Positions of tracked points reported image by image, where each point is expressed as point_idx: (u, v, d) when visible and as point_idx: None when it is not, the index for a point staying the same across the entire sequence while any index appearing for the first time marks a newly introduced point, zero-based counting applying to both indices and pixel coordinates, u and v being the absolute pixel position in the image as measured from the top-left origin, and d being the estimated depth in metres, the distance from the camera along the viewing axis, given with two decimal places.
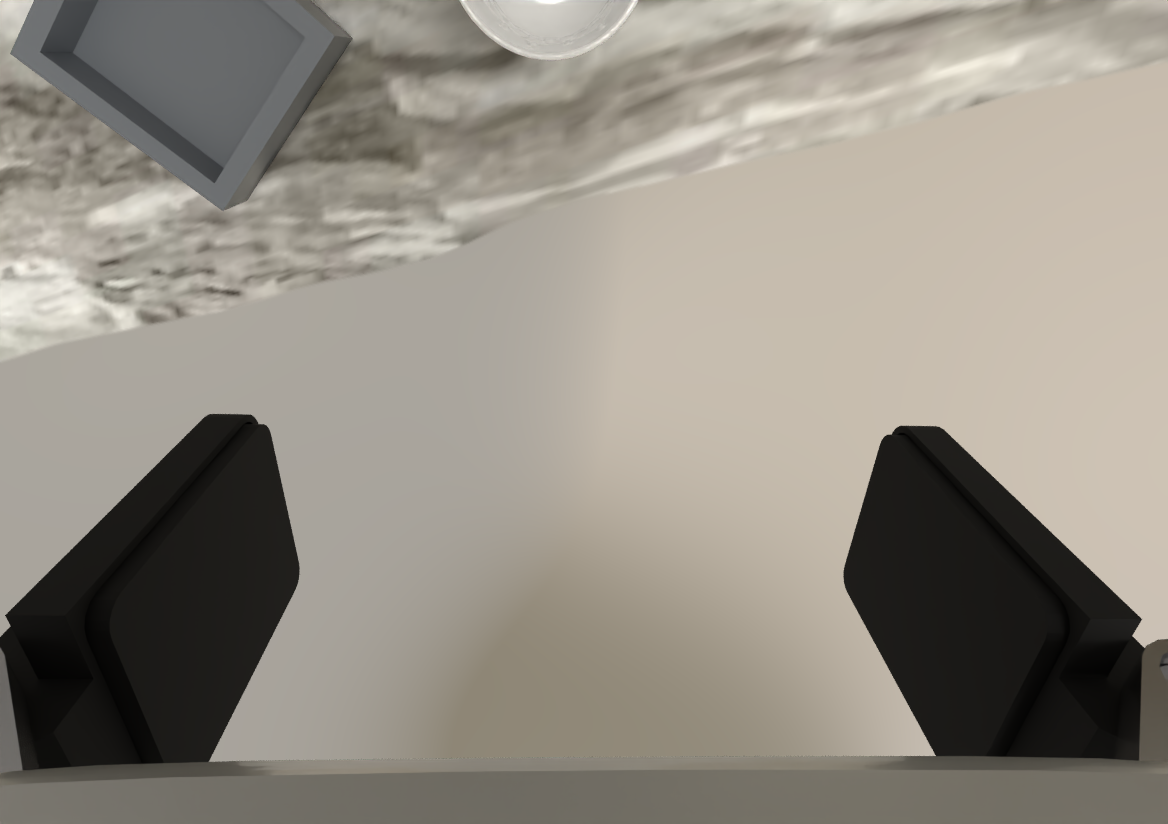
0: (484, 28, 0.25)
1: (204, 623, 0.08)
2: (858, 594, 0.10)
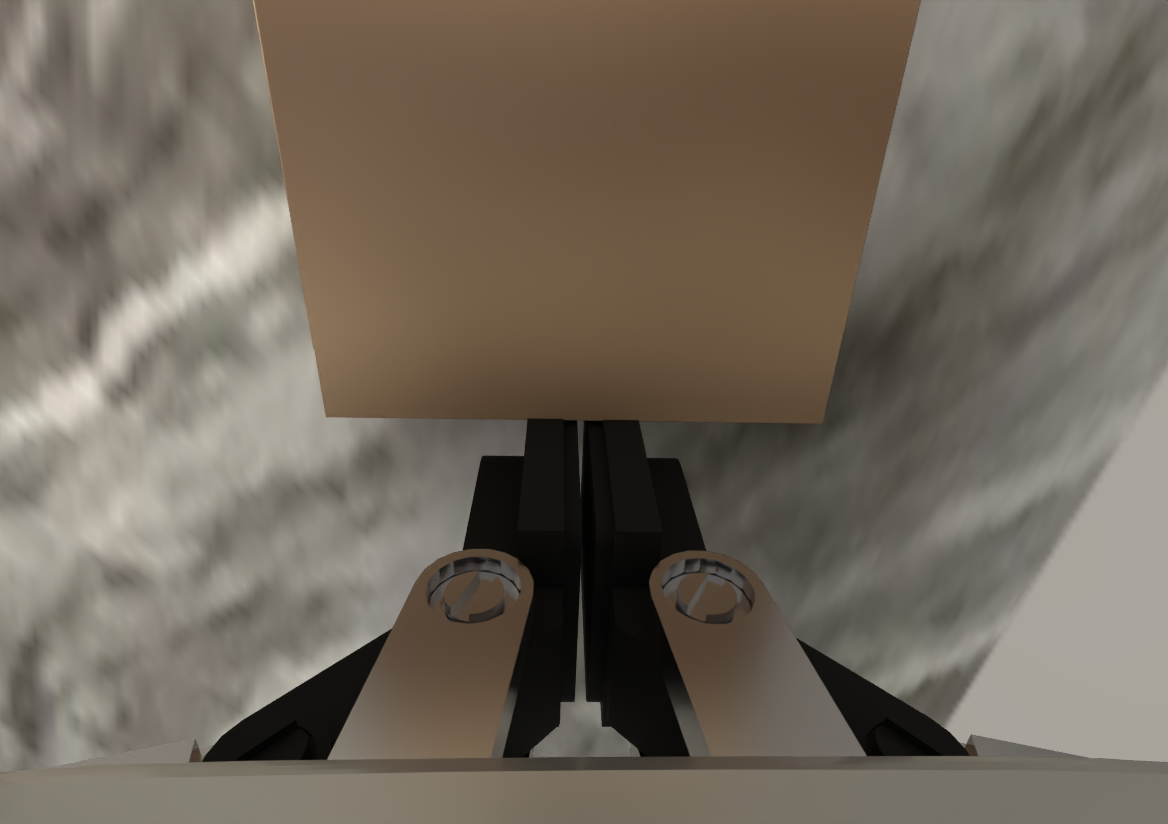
0: None
1: None
2: None
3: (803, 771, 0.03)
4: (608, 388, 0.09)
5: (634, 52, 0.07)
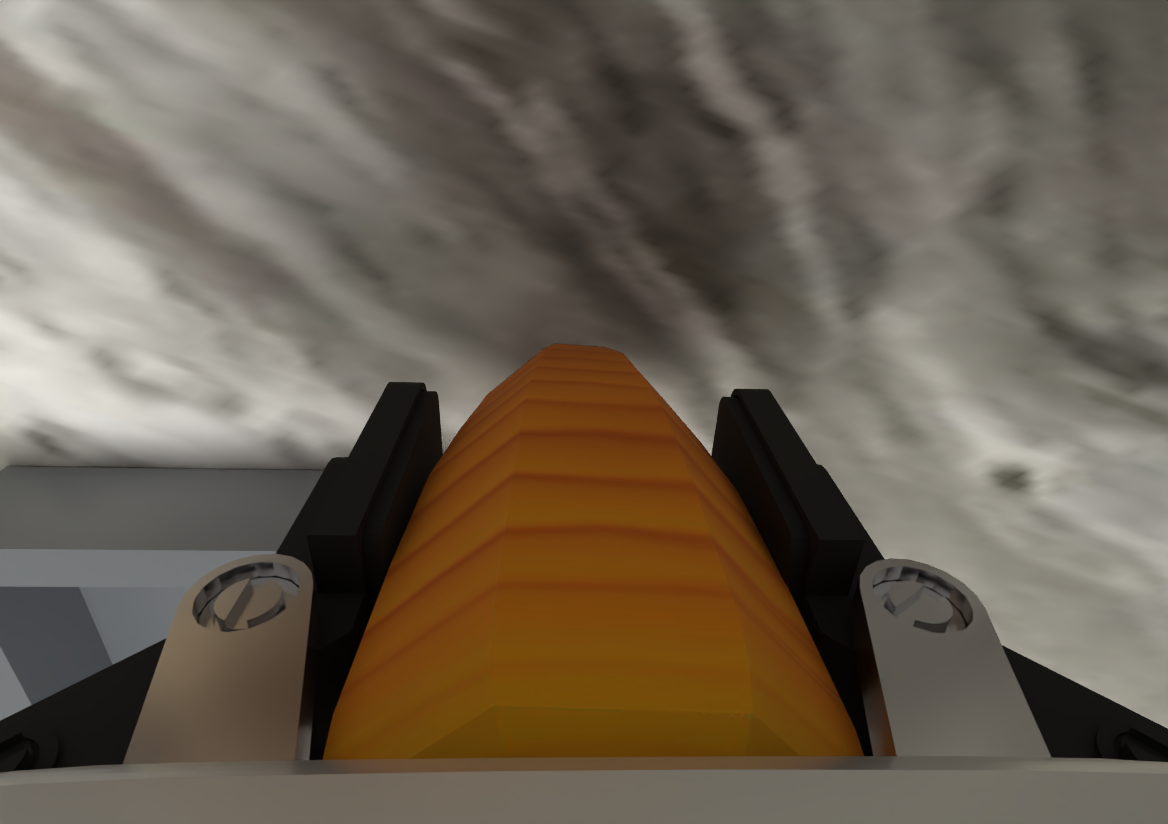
0: None
1: None
2: None
3: (803, 771, 0.03)
4: None
5: None
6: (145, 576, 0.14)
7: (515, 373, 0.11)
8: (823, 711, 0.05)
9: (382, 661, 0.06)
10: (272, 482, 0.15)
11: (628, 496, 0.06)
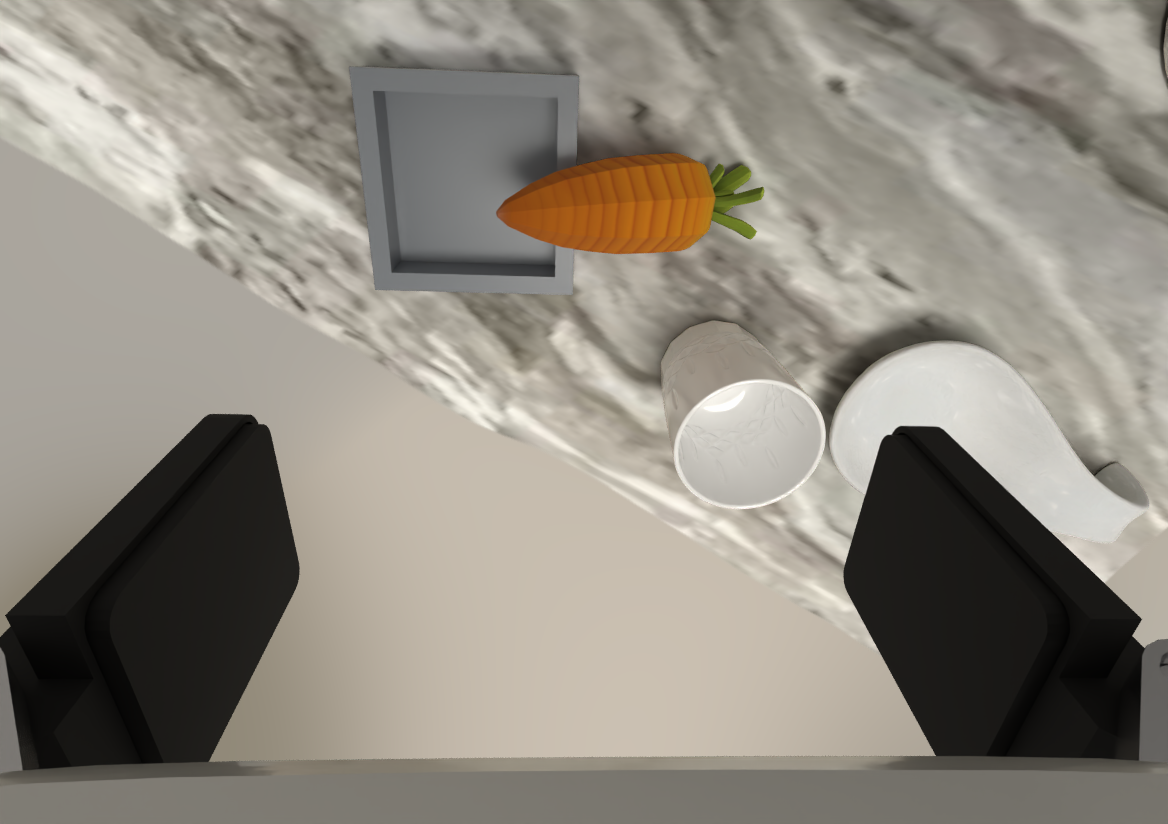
0: (676, 450, 0.34)
1: (204, 623, 0.08)
2: (858, 594, 0.10)
3: (803, 771, 0.03)
4: None
5: None
6: (448, 86, 0.32)
7: (575, 191, 0.30)
8: None
9: (695, 188, 0.32)
10: (489, 71, 0.34)
11: (653, 158, 0.33)
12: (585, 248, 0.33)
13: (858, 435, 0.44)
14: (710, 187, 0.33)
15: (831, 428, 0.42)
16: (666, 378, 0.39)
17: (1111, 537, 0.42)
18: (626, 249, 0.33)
